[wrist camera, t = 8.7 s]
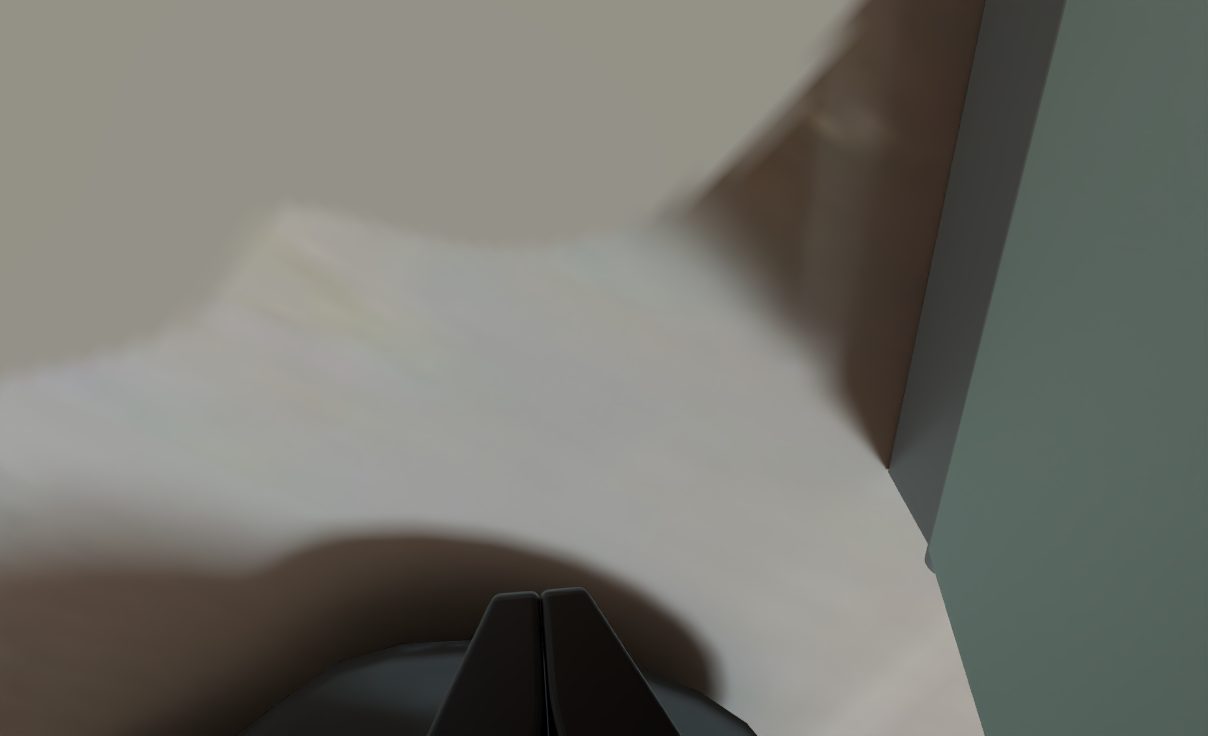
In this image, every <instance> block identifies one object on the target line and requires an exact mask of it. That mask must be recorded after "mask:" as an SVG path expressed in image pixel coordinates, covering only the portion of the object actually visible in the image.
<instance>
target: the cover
mask: <svg viewBox="0 0 1208 736" xmlns="http://www.w3.org/2000/svg"><path fill="white" fill-rule="evenodd" d="M925 563H926V565H927V567H928V568H929V569H930V570H931V571H932V572H933V573H935V574H936V577H937V581H938V584H939V587H940V590H941V594H942V597H943V600H944V604H945V607H946V610H947V613H948V617H949V620H950V623H951V626H952V630H953V633H954V636H955V640H956V643H957V646H958V649H959V653H960V656H961V659H962V662H963V666H964V669H965V672H966V676H967V679H968V682H969V685H970V689H971V692H972V695H973V698H974V702H975V705H976V708H977V712H978V715H979V718H980V721H981V725H982V728H983V731H984V734H985V736H1208V0H1064V4H1063V8H1062V12H1061V16H1060V20H1059V24H1058V28H1057V32H1056V36H1055V40H1054V44H1053V48H1052V52H1051V56H1050V60H1049V64H1048V68H1047V72H1046V76H1045V80H1044V84H1043V88H1042V92H1041V96H1040V100H1039V104H1038V108H1037V112H1036V116H1035V120H1034V124H1033V128H1032V132H1031V136H1030V140H1029V144H1028V148H1027V152H1026V156H1025V160H1024V164H1023V168H1022V172H1021V176H1020V180H1019V184H1018V187H1017V191H1016V195H1015V199H1014V203H1013V207H1012V211H1011V215H1010V219H1009V223H1008V227H1007V231H1006V235H1005V239H1004V243H1003V247H1002V251H1001V255H1000V259H999V263H998V267H997V271H996V275H995V279H994V283H993V287H992V291H991V295H990V299H989V303H988V307H987V311H986V315H985V319H984V323H983V327H982V331H981V335H980V339H979V343H978V347H977V351H976V355H975V359H974V363H973V367H972V371H971V375H970V379H969V383H968V387H967V391H966V395H965V399H964V403H963V407H962V411H961V415H960V419H959V423H958V427H957V431H956V435H955V439H954V443H953V447H952V451H951V455H950V459H949V463H948V467H947V471H946V475H945V479H944V483H943V487H942V491H941V495H940V499H939V503H938V507H937V511H936V515H935V519H934V523H933V527H932V531H931V535H930V539H929V543H928V547H927V551H926V555H925Z"/></svg>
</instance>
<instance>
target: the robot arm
mask: <svg viewBox="0 0 1208 736" xmlns="http://www.w3.org/2000/svg"><path fill="white" fill-rule="evenodd" d="M540 603H541V612H540ZM541 619H542V628H541ZM542 635H543V643H542ZM543 650H544V659H543ZM544 666H545V675H544ZM545 682H546V690H545ZM546 697H547V706H546ZM547 713H548V722H547ZM548 728H549V736H681V734H680V733H679V731H678V729H677V728H676V726H675V725H674V723H673V722H672V720H671V719H670V717H669V716H668V714H667V712H666V711H665V709H664V708H663V706H662V705H661V703H660V702H659V700H658V699H657V697H656V695H655V694H654V692H653V691H652V689H651V688H650V686H649V685H648V683H647V682H646V680H645V679H644V677H643V675H642V674H641V672H640V671H639V669H638V668H637V666H636V665H635V663H634V662H633V660H632V658H631V657H630V655H629V654H628V652H627V651H626V649H625V648H624V646H623V645H622V643H621V642H620V640H619V638H618V637H617V635H616V634H615V632H614V631H613V629H612V628H611V626H610V625H609V623H608V621H607V620H606V618H605V617H604V615H603V614H602V612H601V611H600V609H599V608H598V606H597V604H596V603H595V601H594V600H593V598H592V597H591V595H590V594H589V593H588V592H587V591H586V590H585V589H584V588H582V587H572V588H560V589H548V590H545V591H544V592H542V594H541V597H540V598H539V595H538V594H537V593H536V592H534V591H524V592H512V593H501V594H497V595H495V596H494V597H493V598H492V600H491V601H490V603H489V605H488V607H487V609H486V611H485V613H484V615H483V617H482V620H481V622H480V624H479V626H478V628H477V630H476V632H475V634H474V636H473V639H472V641H471V643H470V645H469V647H468V649H467V651H466V653H465V656H464V658H463V660H462V662H461V664H460V666H459V668H458V670H457V672H456V675H455V677H454V679H453V681H452V683H451V685H450V687H449V689H448V691H447V694H446V696H445V698H444V700H443V702H442V704H441V706H440V708H439V710H438V713H437V715H436V717H435V719H434V721H433V723H432V725H431V727H430V730H429V732H428V734H427V736H548Z"/></svg>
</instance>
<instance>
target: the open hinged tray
mask: <svg viewBox="0 0 1208 736" xmlns="http://www.w3.org/2000/svg"><path fill="white" fill-rule="evenodd" d="M1063 4H1064V0H986V2H985V6H984V11H983V16H982V21H981V26H980V31H979V35H978V40H977V45H976V50H975V55H974V60H973V65H972V69H971V74H970V79H969V84H968V89H967V94H966V98H965V103H964V108H963V113H962V118H961V123H960V127H959V132H958V137H957V142H956V147H955V152H954V156H953V161H952V166H951V171H950V176H949V181H948V185H947V190H946V195H945V200H944V205H943V210H942V214H941V219H940V224H939V229H938V234H937V239H936V243H935V248H934V253H933V258H932V263H931V268H930V272H929V277H928V282H927V287H926V292H925V297H924V301H923V306H922V311H921V316H920V321H919V326H918V331H917V335H916V340H915V345H914V350H913V355H912V360H911V364H910V369H909V374H908V379H907V384H906V389H905V393H904V398H903V403H902V408H901V413H900V418H899V422H898V427H897V432H896V437H895V442H894V447H893V451H892V456H891V461H890V466H889V471H888V473H889V474H890V476H891V478H892V480H893V482H894V483H895V485H896V487H897V489H898V491H899V492H900V494H901V496H902V498H903V500H904V501H905V503H906V505H907V507H908V509H909V510H910V512H911V514H912V516H913V518H914V519H915V521H916V523H917V525H918V527H919V528H920V530H921V532H922V534H923V536H924V537H925V539H926V541H927V543H929V539H930V535H931V531H932V527H933V523H934V519H935V515H936V511H937V507H938V503H939V499H940V495H941V491H942V487H943V483H944V479H945V475H946V471H947V467H948V463H949V459H950V455H951V451H952V447H953V443H954V439H955V435H956V431H957V427H958V423H959V419H960V415H961V411H962V407H963V403H964V399H965V395H966V391H967V387H968V383H969V379H970V375H971V371H972V367H973V363H974V359H975V355H976V351H977V347H978V343H979V339H980V335H981V331H982V327H983V323H984V319H985V315H986V311H987V307H988V303H989V299H990V295H991V291H992V287H993V283H994V279H995V275H996V271H997V267H998V263H999V259H1000V255H1001V251H1002V247H1003V243H1004V239H1005V235H1006V231H1007V227H1008V223H1009V219H1010V215H1011V211H1012V207H1013V203H1014V199H1015V195H1016V191H1017V187H1018V184H1019V180H1020V176H1021V172H1022V168H1023V164H1024V160H1025V156H1026V152H1027V148H1028V144H1029V140H1030V136H1031V132H1032V128H1033V124H1034V120H1035V116H1036V112H1037V108H1038V104H1039V100H1040V96H1041V92H1042V88H1043V84H1044V80H1045V76H1046V72H1047V68H1048V64H1049V60H1050V56H1051V52H1052V48H1053V44H1054V40H1055V36H1056V32H1057V28H1058V24H1059V20H1060V16H1061V12H1062V8H1063Z"/></svg>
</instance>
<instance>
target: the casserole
mask: <svg viewBox="0 0 1208 736" xmlns="http://www.w3.org/2000/svg"><path fill="white" fill-rule="evenodd" d="M471 641H472V640H465V641H446V642H427V643H408V644H400V645H397V646H393V647H390V648H386V649H383V650H380V651H376V652H373V653H369V654H366V655H363V656H359V657H356V658H352V659H349V660H345V661H342V662H339V663H335V664H334V665H333V666H331V667H330V668H328V669H327V670H325V671H324V672H322V673H321V674H320V675H318V676H317V677H315V678H314V679H312V680H311V681H309V682H308V683H306V684H305V685H304V686H302V687H301V688H299V689H298V690H296V691H295V692H293V693H292V694H291V695H289V696H288V697H286V698H285V699H283V700H282V701H280V702H279V703H278V704H276V705H275V706H274V707H273V708H271V709H270V710H269V711H267V712H266V713H265V714H264V715H262V716H261V717H260V718H258V719H257V720H256V721H255V722H253V723H252V724H251V725H249V726H248V727H247V728H246V729H244V730H243V731H242V732H240V733H239V734H238V735H237V736H427V734H428V732H429V730H430V727H431V725H432V723H433V721H434V719H435V717H436V715H437V713H438V710H439V708H440V706H441V704H442V702H443V700H444V698H445V696H446V694H447V691H448V689H449V687H450V685H451V683H452V681H453V679H454V677H455V675H456V672H457V670H458V668H459V666H460V664H461V662H462V660H463V658H464V656H465V653H466V651H467V649H468V647H469V645H470V643H471ZM543 659H544V650H543ZM636 666H637V665H636ZM637 668H638V669H639V671H640V672H641V674H642V675H643V677H644V679H645V680H646V682H647V683H648V685H649V686H650V688H651V689H652V691H653V692H654V694H655V695H656V697H657V699H658V700H659V702H660V703H661V705H662V706H663V708H664V709H665V711H666V712H667V714H668V716H669V717H670V719H671V720H672V722H673V723H674V725H675V726H676V728H677V729H678V731H679V733H680V734H681V736H757V735H756V734H755V732H754V731H753V730H752V729H751V728H750V727H749V725H748V724H747V723H746V722H744V721H743V720H741V719H740V718H738V717H737V716H735V715H734V714H732V713H731V712H729V711H728V710H726V709H725V708H723V707H722V706H720V705H719V704H717V703H716V702H714V701H713V700H711V699H710V698H708V697H707V696H705V695H704V694H702V693H701V692H699V691H696V690H694V689H691V688H689V687H687V686H684V685H682V684H680V683H677V682H675V681H672V680H670V679H668V678H665V677H663V676H661V675H658V674H656V673H653V672H651V671H649V670H646V669H644V668H642V667H639V666H637ZM544 675H545V666H544ZM545 690H546V682H545ZM546 706H547V697H546ZM547 722H548V713H547ZM548 736H549V728H548Z"/></svg>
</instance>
